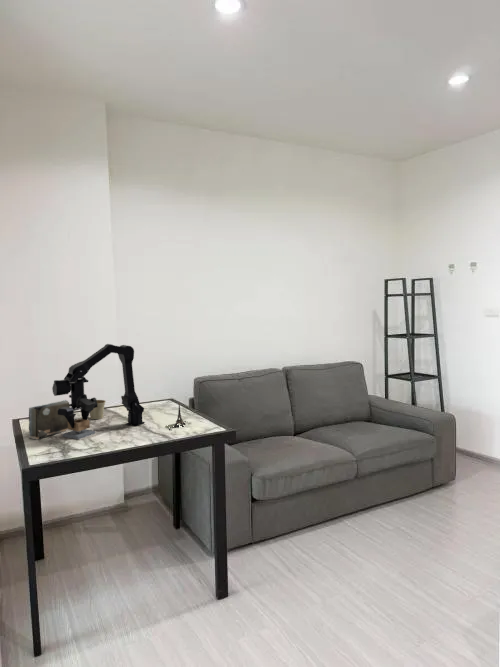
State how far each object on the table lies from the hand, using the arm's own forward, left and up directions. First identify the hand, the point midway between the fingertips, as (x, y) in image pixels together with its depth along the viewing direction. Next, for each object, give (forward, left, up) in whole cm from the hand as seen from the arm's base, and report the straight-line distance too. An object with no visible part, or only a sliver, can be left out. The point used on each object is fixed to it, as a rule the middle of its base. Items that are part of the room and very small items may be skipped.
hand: (78, 426), depth 219 cm
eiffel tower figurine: (-33, -33, -5) cm, 47 cm away
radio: (+15, +3, -4) cm, 16 cm away
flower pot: (+15, -26, -4) cm, 30 cm away
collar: (0, 0, -1) cm, 1 cm away
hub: (0, 0, -4) cm, 4 cm away
